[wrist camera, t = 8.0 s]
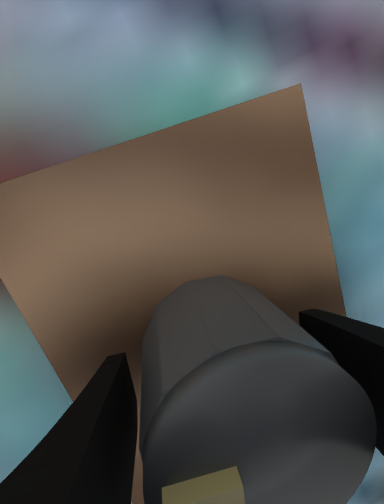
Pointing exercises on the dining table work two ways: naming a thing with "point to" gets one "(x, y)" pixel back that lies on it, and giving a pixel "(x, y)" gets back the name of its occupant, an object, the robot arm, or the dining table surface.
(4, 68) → the dining table surface
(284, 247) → the post board
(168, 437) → the cap
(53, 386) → the dining table surface
